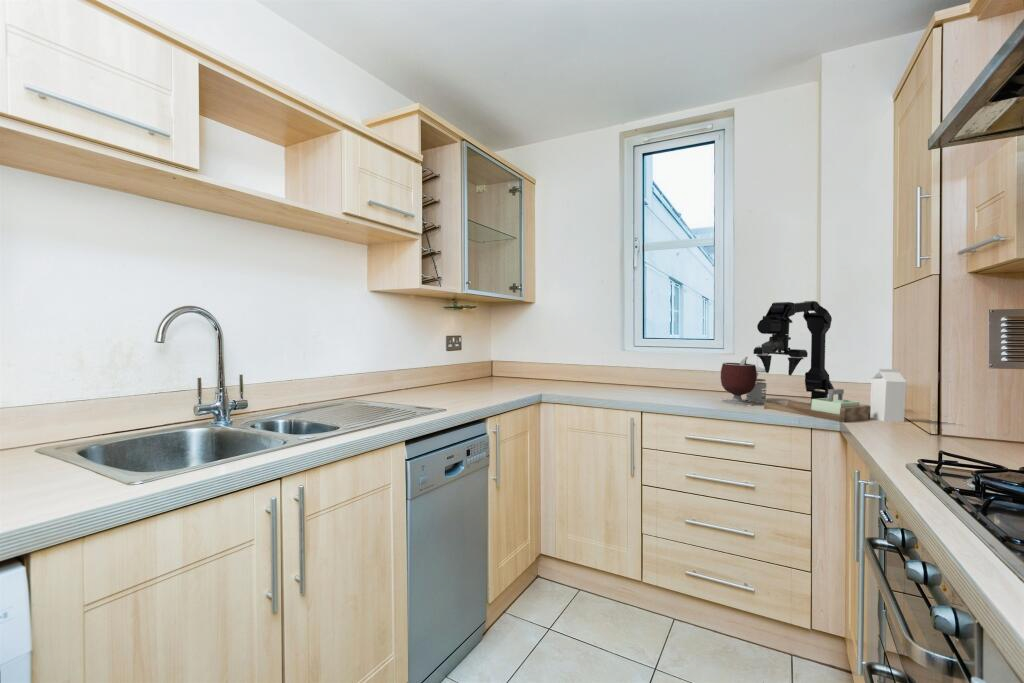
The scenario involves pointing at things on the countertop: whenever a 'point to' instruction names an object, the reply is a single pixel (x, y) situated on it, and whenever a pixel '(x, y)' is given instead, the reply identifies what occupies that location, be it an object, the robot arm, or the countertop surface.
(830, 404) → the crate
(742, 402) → the mate gourd
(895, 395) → the milk carton
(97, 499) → the countertop surface
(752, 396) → the french press
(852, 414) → the bay
